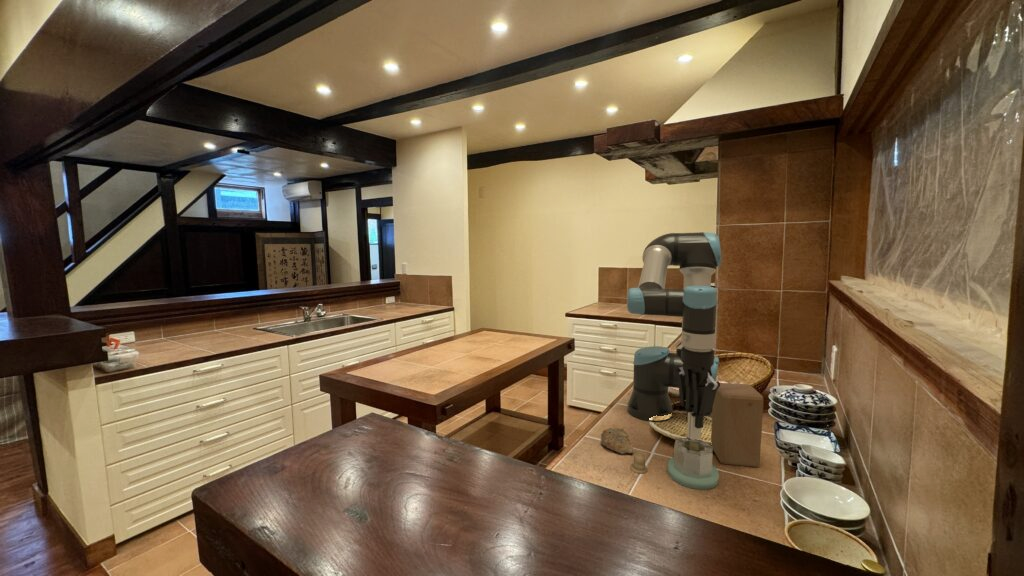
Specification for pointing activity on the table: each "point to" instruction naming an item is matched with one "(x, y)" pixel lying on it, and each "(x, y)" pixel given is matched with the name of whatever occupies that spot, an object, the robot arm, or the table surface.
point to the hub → (693, 482)
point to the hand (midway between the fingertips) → (693, 437)
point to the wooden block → (737, 424)
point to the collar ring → (693, 458)
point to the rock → (617, 440)
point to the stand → (639, 463)
